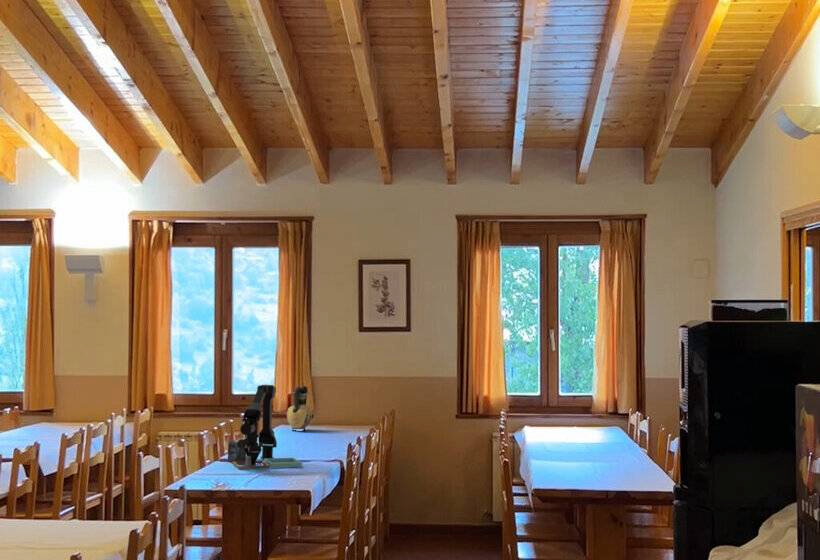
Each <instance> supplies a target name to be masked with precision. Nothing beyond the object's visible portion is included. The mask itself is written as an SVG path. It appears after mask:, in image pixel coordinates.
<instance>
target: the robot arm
mask: <svg viewBox="0 0 820 560" xmlns="http://www.w3.org/2000/svg"><path fill="white" fill-rule="evenodd" d="M276 392H277V387H275V385H273V384H259V385H257V388H256V392H255V395H254V398H253V400H252V403H250V404H249V405H248V406H247V407H246V409H245V410H244V414H243V416H242V417H243V418H242V422H244V423H243V424H241V425H240V428H239V429H240V430H239V431H240V432H241V434H242V435H243V437H242V438H239V439H236V441H235V440H233V441H234V442H235V445H236V447H237V448H240V447H241V446H242V447H244V448H243V449H244V450H245V451H246V456H251V464H252V465H254V464H255V462H256V461H258V458H259V457H261V458H260V459H262V460H264V459H266V458H275V457H274V455H273V454H274V449H275V448H277V446H278V445H277V444H278V441H277V438H276V436H275V431H274V430H273V427H272V415H273V413H272V410H273V409H272V406H273V404H272V403H273V400H274V398H275V397H276ZM261 407H262V410H261ZM261 417H262V429H261V430H260V432H259V422H260V420H261ZM260 454H261V456H260Z"/></svg>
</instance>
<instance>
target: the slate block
mask: <svg viewBox="0 0 820 560" xmlns="http://www.w3.org/2000/svg"><path fill="white" fill-rule="evenodd" d="M245 465H246V466H257V464H256V462H255V464H254V465H252V464H251V456H247V455H246V462H245V464H244V466H245Z"/></svg>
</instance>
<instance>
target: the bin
mask: <svg viewBox="0 0 820 560" xmlns="http://www.w3.org/2000/svg"><path fill="white" fill-rule="evenodd" d="M263 461H264V462H265V463H267V464H268V465H270V467H271V468H270V467H269V468H270V469H291V468H290V467H298V468H302V463H303V462H301V461H300V460H298V459H296V458H295V457H274V458H266V459H263ZM288 467H289V468H288Z"/></svg>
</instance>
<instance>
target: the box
mask: <svg viewBox="0 0 820 560" xmlns="http://www.w3.org/2000/svg"><path fill="white" fill-rule="evenodd" d="M236 440H237V439H236ZM236 440H229V441H228V443H227V444H228V445H227V446H228V447H227V448H228V449H227V462H229V463H232V461H246V456H247V455H246V451H245V450H244V449H243V448H244V447H242V446H241V447H240V448H237V447H236V445H235V442H234V441H236Z"/></svg>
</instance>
